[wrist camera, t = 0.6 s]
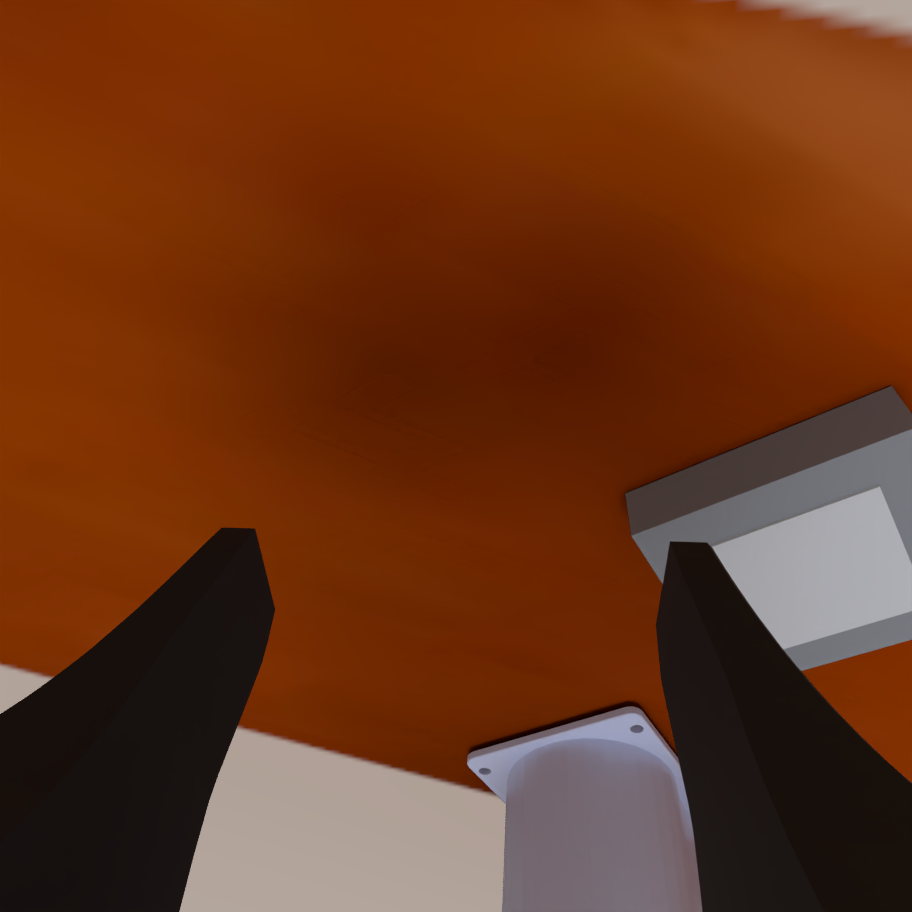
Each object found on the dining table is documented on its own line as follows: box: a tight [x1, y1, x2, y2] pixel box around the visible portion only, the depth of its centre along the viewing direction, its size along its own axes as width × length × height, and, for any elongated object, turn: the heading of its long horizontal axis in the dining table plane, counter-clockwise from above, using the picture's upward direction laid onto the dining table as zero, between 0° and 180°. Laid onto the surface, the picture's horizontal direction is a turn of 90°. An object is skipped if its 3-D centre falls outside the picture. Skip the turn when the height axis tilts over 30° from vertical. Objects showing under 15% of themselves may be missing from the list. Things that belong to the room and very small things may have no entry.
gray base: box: [625, 386, 912, 671], centre depth 24 cm, size 8×8×2 cm
